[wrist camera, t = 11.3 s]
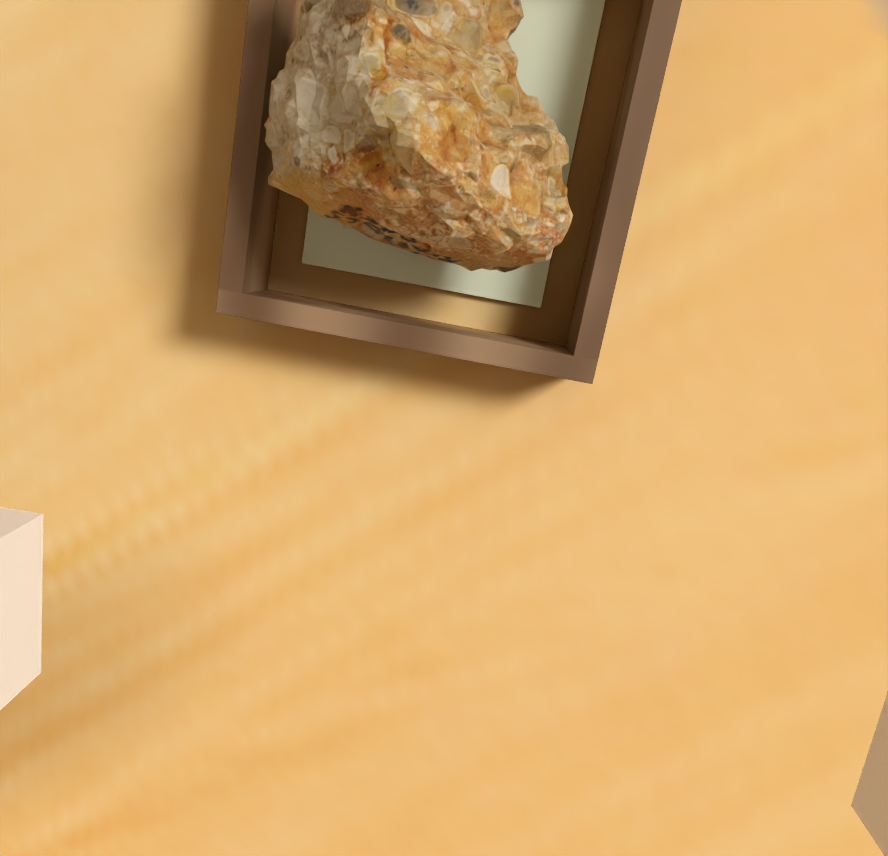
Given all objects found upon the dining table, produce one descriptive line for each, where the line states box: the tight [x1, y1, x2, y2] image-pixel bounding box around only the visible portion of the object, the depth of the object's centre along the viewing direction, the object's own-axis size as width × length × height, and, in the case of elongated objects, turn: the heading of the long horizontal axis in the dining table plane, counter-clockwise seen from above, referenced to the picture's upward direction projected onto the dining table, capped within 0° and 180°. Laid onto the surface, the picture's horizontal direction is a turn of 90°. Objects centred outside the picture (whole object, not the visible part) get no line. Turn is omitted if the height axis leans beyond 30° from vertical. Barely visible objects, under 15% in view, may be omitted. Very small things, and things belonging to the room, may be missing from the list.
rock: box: [264, 0, 573, 272], centre depth 26 cm, size 12×10×10 cm
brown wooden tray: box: [216, 0, 682, 384], centre depth 30 cm, size 16×18×4 cm
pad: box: [302, 0, 605, 308], centre depth 31 cm, size 11×13×1 cm
